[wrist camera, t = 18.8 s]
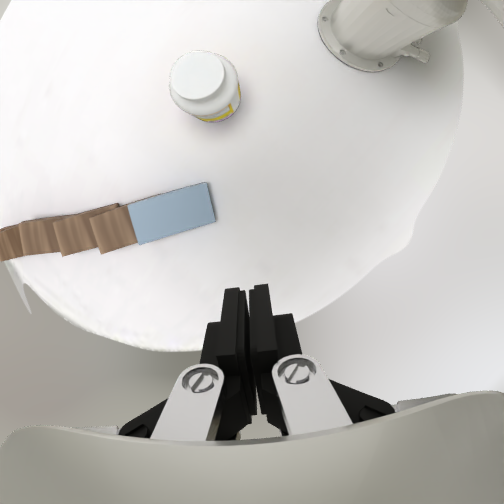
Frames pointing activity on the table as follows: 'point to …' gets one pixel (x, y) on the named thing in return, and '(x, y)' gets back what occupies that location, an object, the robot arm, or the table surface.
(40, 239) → the domino
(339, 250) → the table surface
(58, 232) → the domino
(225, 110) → the supplement bottle
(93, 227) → the domino
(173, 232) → the domino
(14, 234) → the domino
